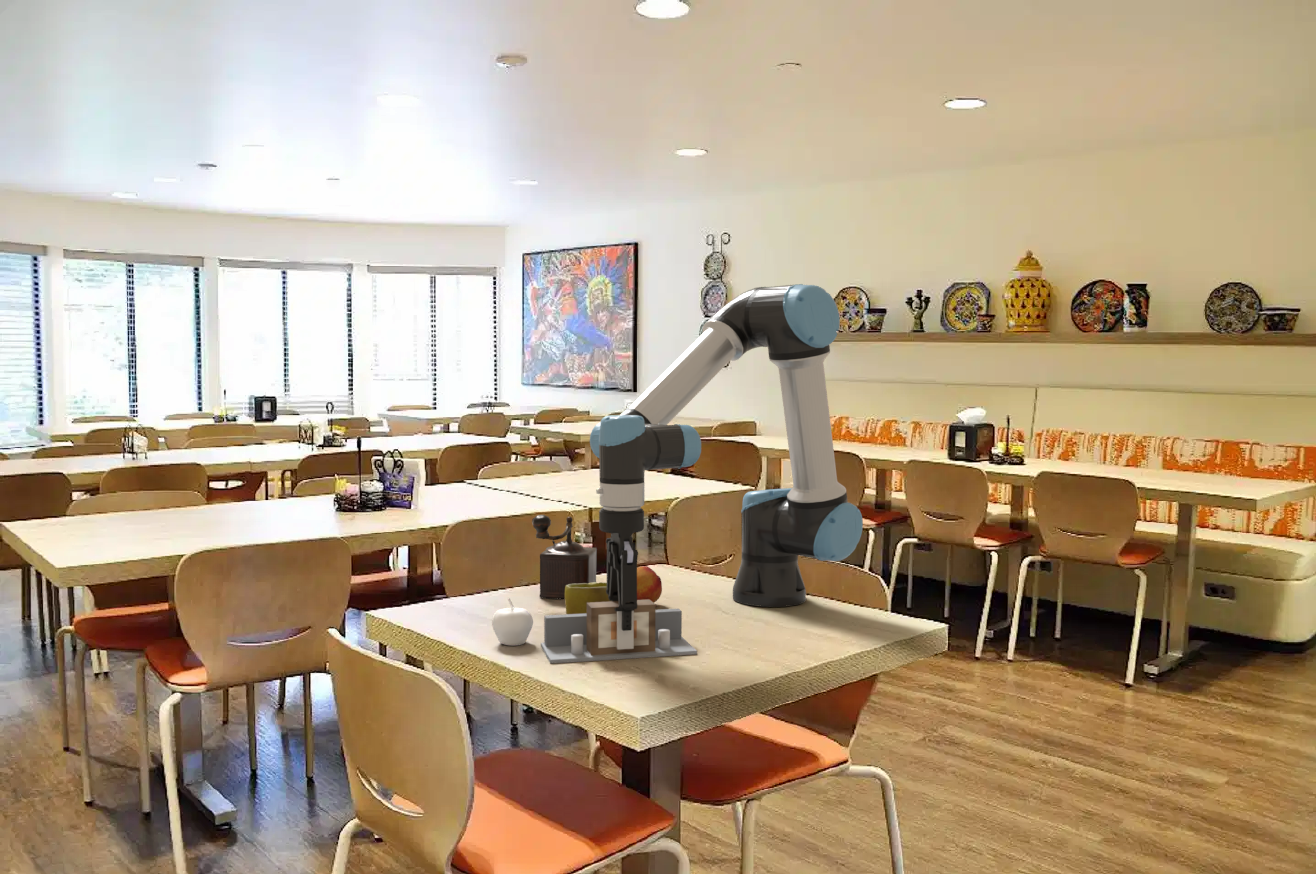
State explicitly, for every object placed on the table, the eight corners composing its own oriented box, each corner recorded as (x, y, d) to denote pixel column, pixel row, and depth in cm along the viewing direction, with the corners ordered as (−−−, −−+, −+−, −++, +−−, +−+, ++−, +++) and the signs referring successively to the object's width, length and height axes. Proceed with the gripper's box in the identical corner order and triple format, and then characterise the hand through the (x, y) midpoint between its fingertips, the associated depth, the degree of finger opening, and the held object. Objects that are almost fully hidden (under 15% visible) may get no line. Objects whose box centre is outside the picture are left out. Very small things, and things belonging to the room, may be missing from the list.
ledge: (679, 638, 196) (679, 607, 196) (696, 654, 185) (697, 621, 185) (540, 646, 190) (540, 614, 189) (550, 663, 179) (550, 629, 179)
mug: (615, 626, 196) (602, 572, 198) (563, 640, 199) (550, 586, 201) (634, 623, 208) (621, 572, 210) (585, 637, 210) (572, 586, 212)
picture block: (649, 645, 189) (649, 599, 188) (655, 651, 185) (655, 604, 184) (586, 649, 186) (586, 602, 185) (591, 655, 182) (591, 608, 181)
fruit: (667, 609, 218) (667, 569, 218) (627, 611, 216) (627, 571, 216) (657, 600, 226) (657, 562, 225) (619, 602, 224) (619, 564, 223)
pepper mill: (547, 588, 238) (547, 505, 236) (597, 590, 236) (597, 507, 235) (529, 604, 222) (529, 516, 221) (582, 606, 221) (582, 517, 219)
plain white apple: (495, 638, 195) (495, 593, 195) (535, 638, 195) (535, 594, 194) (488, 648, 188) (488, 602, 188) (529, 649, 188) (529, 603, 187)
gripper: (589, 500, 191) (589, 631, 193) (611, 516, 173) (610, 660, 175) (631, 499, 193) (630, 629, 195) (657, 514, 175) (656, 657, 177)
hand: (621, 643), depth 185 cm, fingers open, 5 cm apart
